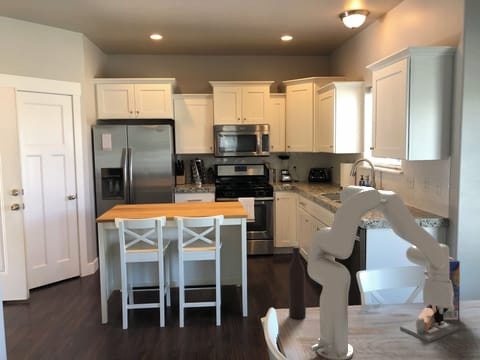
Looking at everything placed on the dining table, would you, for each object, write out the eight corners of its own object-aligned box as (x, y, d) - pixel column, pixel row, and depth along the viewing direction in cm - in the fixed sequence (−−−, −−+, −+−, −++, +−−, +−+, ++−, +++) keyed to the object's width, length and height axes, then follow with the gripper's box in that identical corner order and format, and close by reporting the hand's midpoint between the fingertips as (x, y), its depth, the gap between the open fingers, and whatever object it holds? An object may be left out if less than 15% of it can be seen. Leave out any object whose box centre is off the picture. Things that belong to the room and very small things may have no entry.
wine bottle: (306, 313, 162) (305, 245, 161) (305, 320, 155) (303, 249, 154) (290, 312, 164) (288, 245, 162) (288, 319, 157) (286, 248, 155)
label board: (428, 341, 135) (428, 324, 134) (400, 329, 145) (399, 313, 145) (458, 329, 143) (458, 313, 143) (429, 318, 154) (429, 303, 153)
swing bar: (427, 330, 139) (427, 322, 139) (416, 327, 142) (416, 320, 142) (435, 316, 151) (435, 309, 151) (425, 314, 153) (425, 307, 153)
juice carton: (459, 319, 152) (459, 261, 151) (441, 319, 152) (441, 262, 151) (443, 307, 164) (443, 254, 163) (426, 308, 164) (426, 254, 163)
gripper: (414, 274, 146) (415, 320, 148) (457, 282, 136) (457, 331, 137) (421, 270, 152) (421, 314, 153) (462, 277, 142) (463, 324, 143)
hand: (438, 322), depth 145 cm, fingers closed
